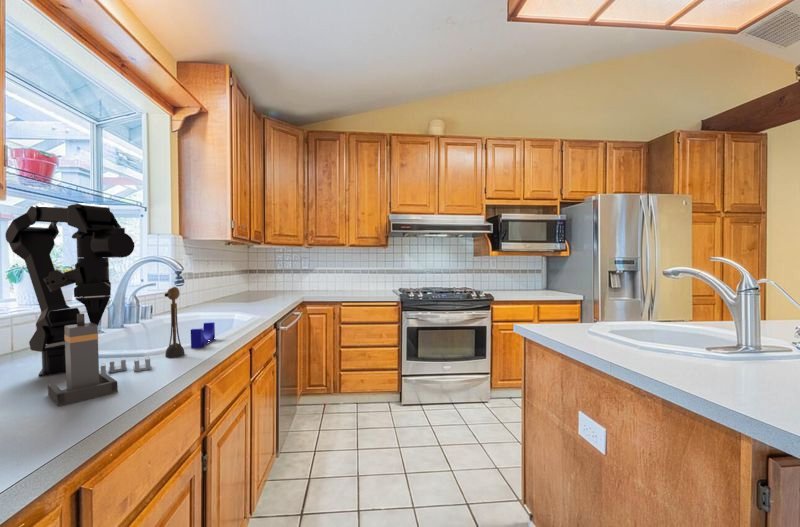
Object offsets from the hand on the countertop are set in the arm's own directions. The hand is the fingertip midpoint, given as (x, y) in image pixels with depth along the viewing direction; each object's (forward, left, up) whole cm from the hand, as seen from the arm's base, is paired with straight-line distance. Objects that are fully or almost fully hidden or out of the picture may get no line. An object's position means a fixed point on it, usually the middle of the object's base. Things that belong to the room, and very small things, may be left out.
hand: (95, 323), depth 89 cm
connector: (+11, -2, -12) cm, 17 cm away
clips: (-3, +4, -13) cm, 14 cm away
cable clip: (-23, +26, -13) cm, 37 cm away
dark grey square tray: (+11, -2, -13) cm, 17 cm away
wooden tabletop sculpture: (-11, +17, -13) cm, 24 cm away
